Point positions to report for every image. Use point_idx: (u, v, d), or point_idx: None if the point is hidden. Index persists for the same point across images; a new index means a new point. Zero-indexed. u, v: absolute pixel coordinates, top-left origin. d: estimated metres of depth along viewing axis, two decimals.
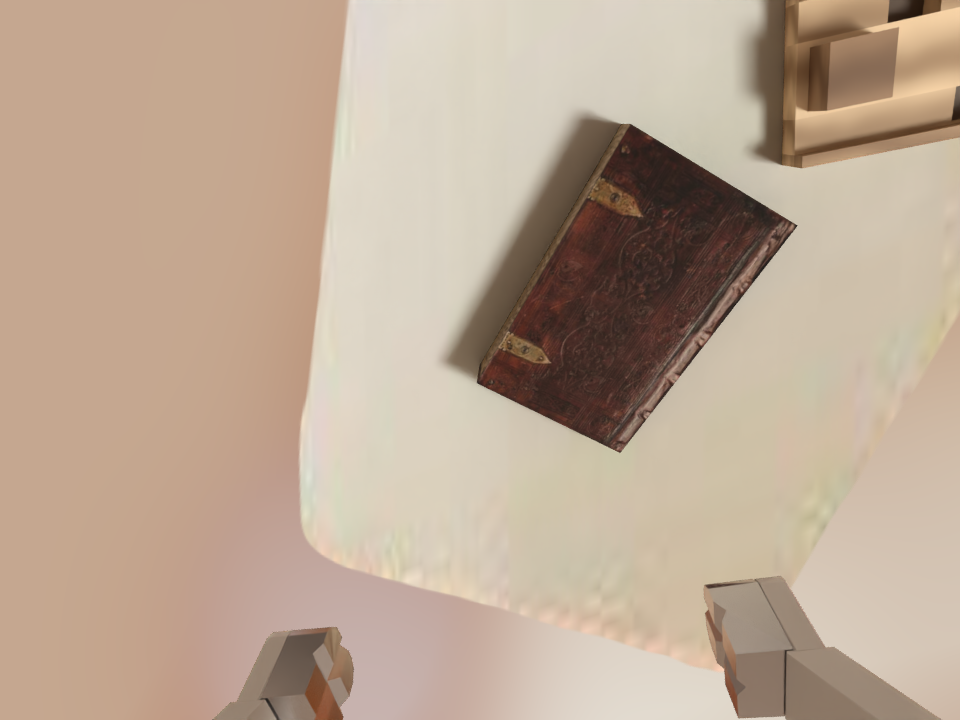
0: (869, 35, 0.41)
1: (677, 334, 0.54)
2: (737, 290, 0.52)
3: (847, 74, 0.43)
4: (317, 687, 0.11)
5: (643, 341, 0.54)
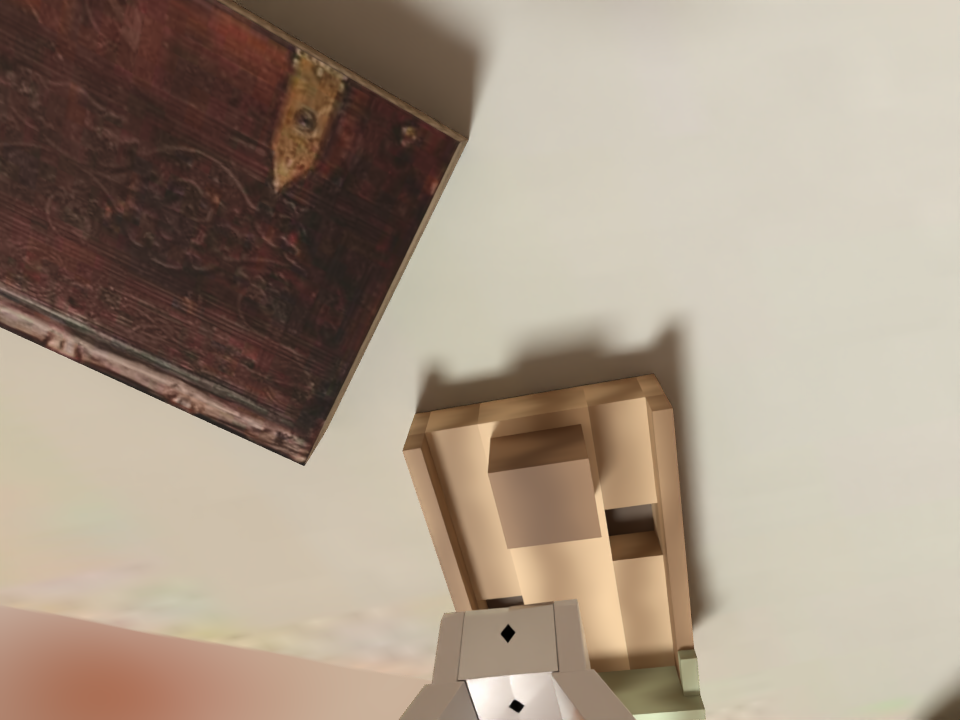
0: (593, 505, 0.27)
1: (51, 294, 0.25)
2: (174, 393, 0.27)
3: (540, 489, 0.27)
4: None
5: (11, 224, 0.24)
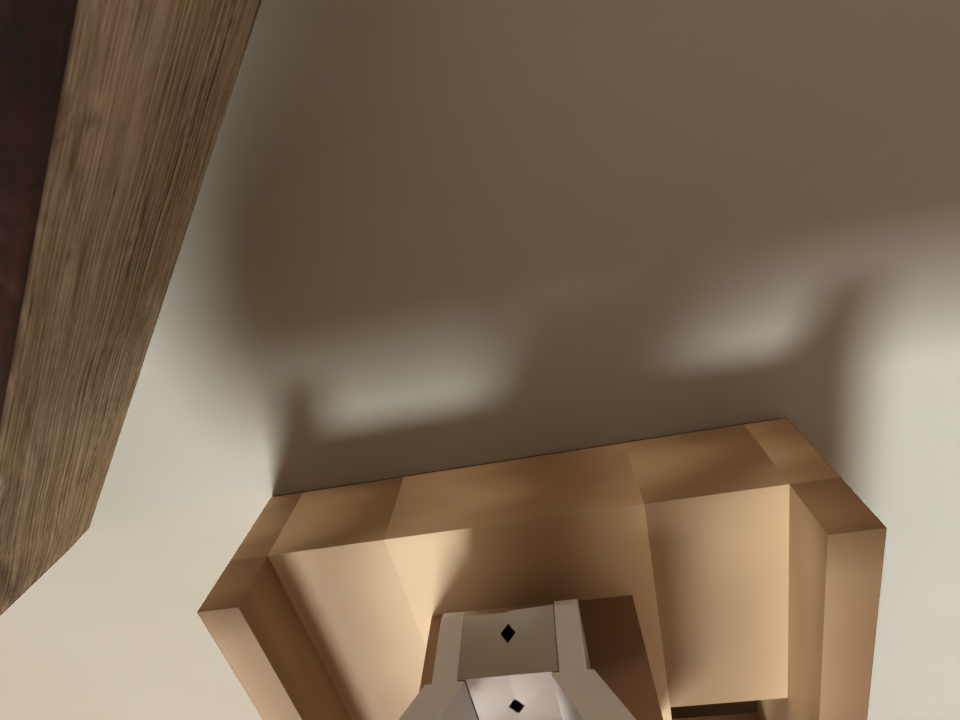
0: None
1: None
2: None
3: None
4: None
5: None
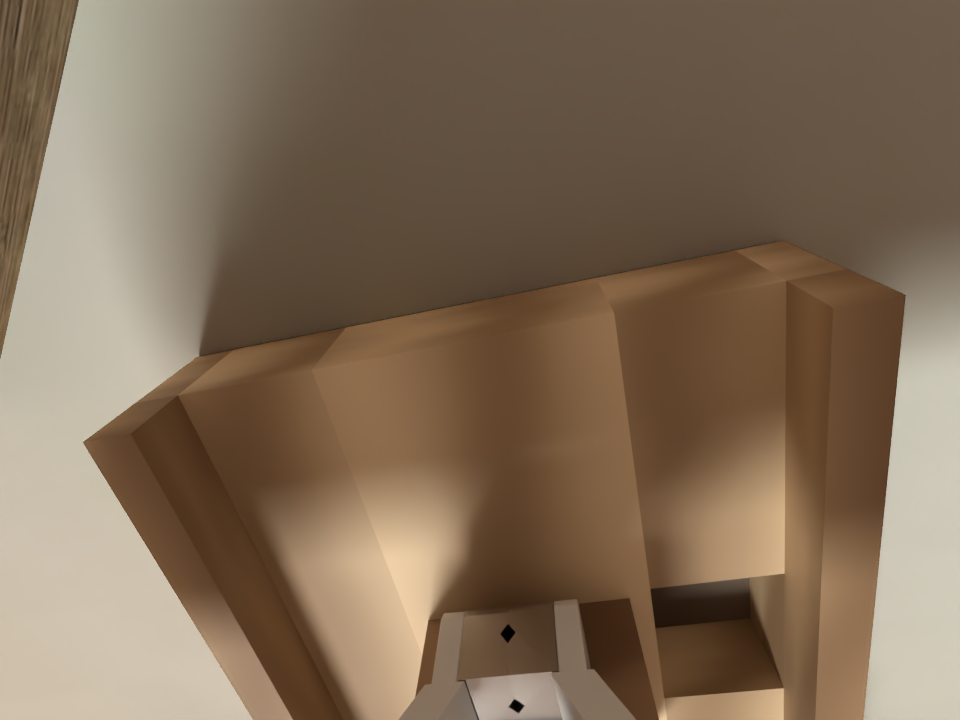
0: None
1: None
2: None
3: None
4: None
5: None
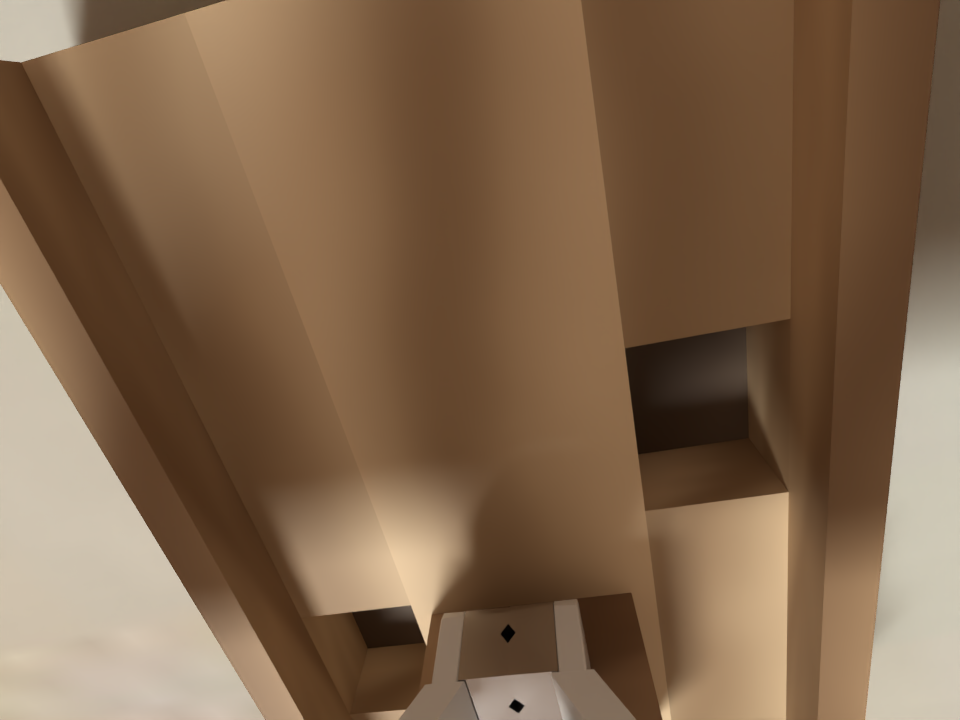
0: None
1: None
2: None
3: None
4: None
5: None
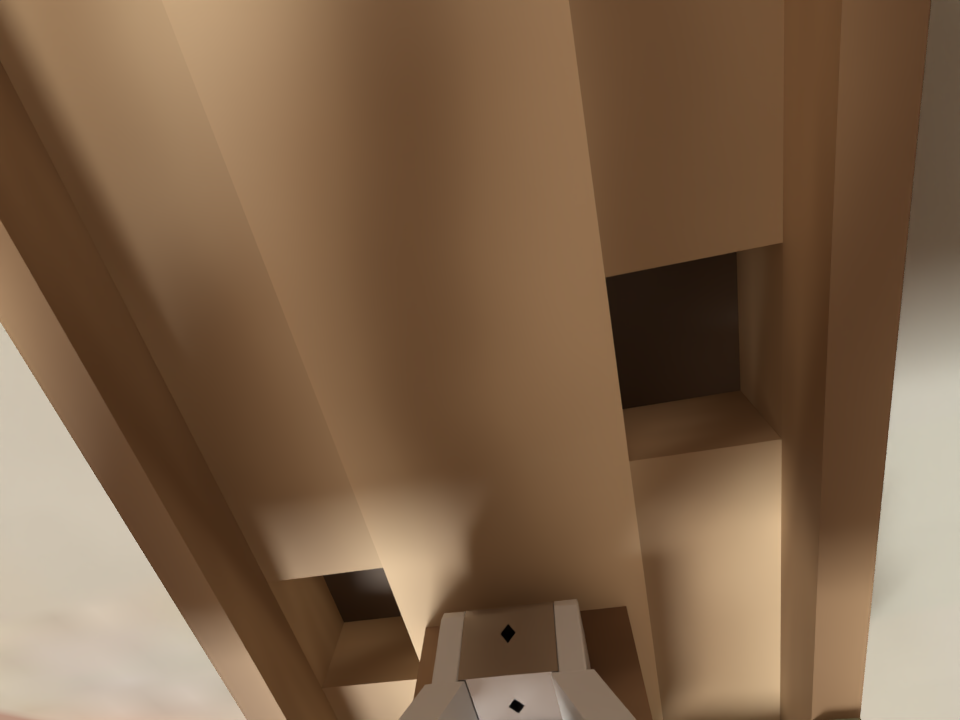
0: None
1: None
2: None
3: None
4: None
5: None
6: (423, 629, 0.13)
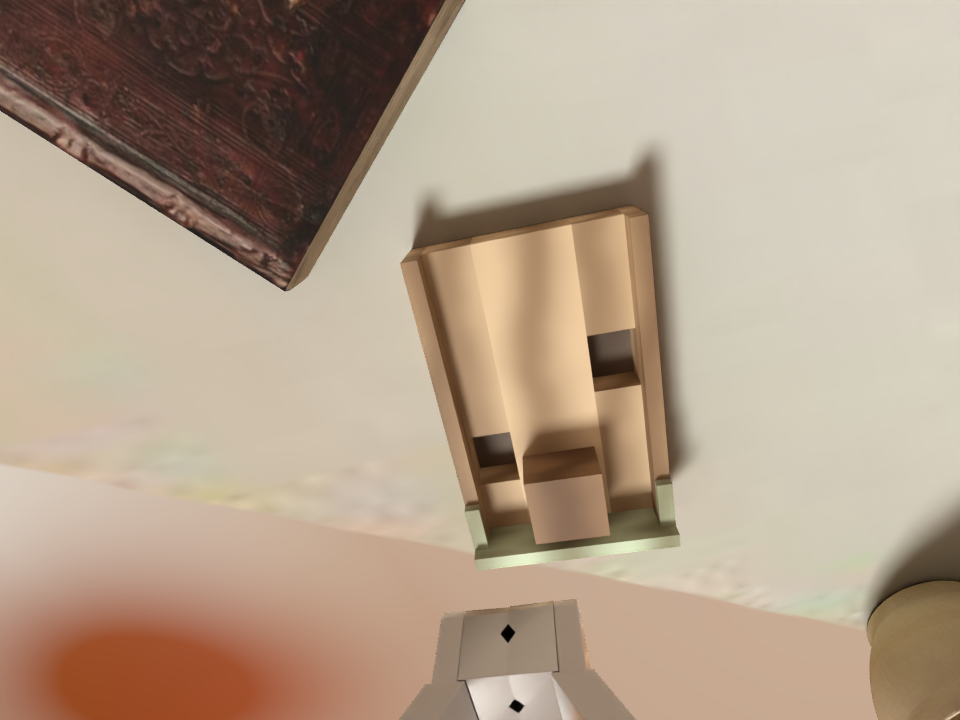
0: (604, 510, 0.35)
1: (67, 89, 0.27)
2: (171, 204, 0.29)
3: (563, 497, 0.34)
4: None
5: (38, 13, 0.26)
6: (521, 457, 0.37)
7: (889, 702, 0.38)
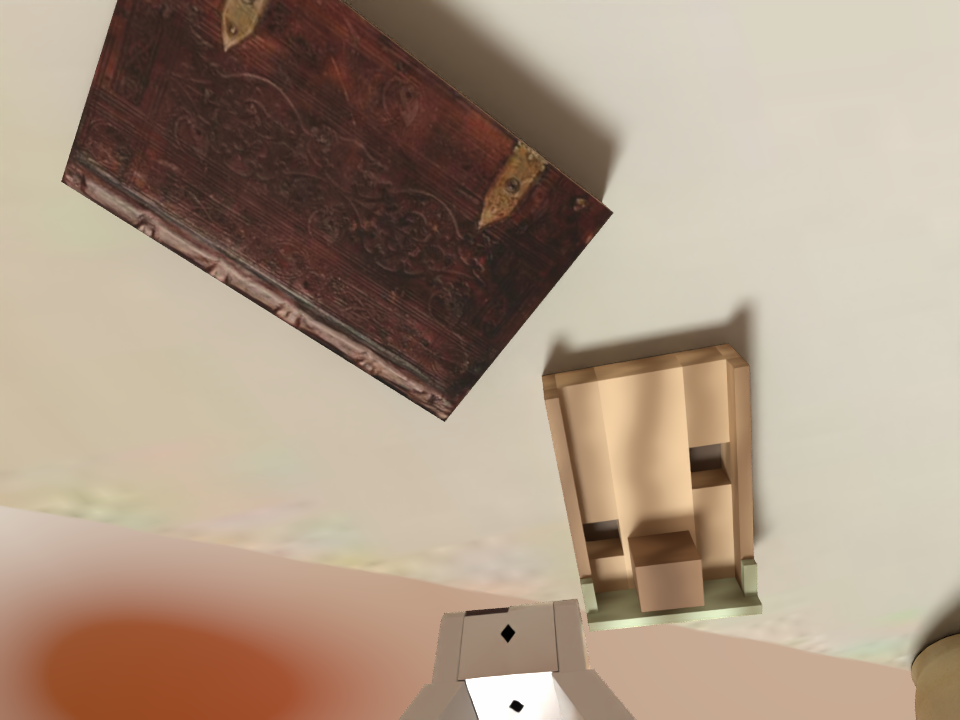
0: (701, 586, 0.42)
1: (292, 278, 0.35)
2: (362, 358, 0.37)
3: (668, 576, 0.42)
4: None
5: (279, 226, 0.33)
6: (626, 538, 0.44)
7: None
